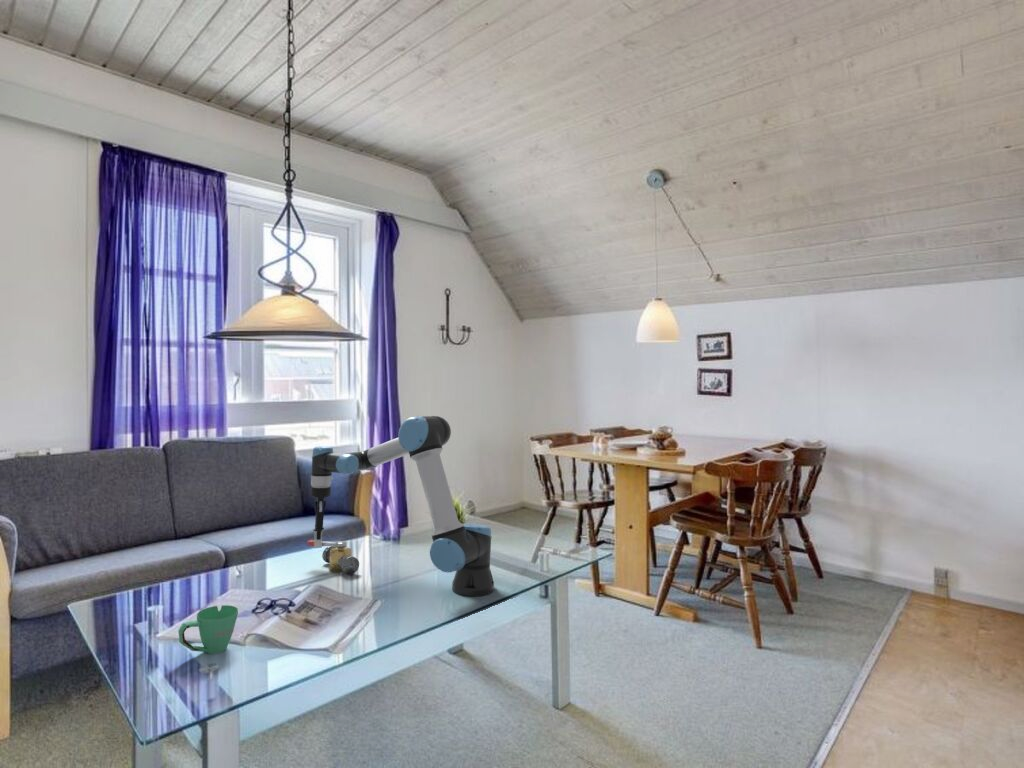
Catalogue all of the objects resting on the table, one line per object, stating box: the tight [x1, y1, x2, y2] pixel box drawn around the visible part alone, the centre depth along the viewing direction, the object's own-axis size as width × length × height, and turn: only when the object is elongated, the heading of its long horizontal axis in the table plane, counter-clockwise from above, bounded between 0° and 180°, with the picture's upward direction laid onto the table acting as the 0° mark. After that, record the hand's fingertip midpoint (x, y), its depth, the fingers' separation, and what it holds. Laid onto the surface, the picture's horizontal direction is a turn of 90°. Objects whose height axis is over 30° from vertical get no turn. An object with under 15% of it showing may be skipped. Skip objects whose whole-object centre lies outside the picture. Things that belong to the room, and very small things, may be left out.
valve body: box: [321, 546, 360, 576], centre depth 225 cm, size 20×8×8 cm, turn 41°
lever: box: [306, 539, 348, 548], centre depth 226 cm, size 15×4×2 cm, turn 86°
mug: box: [178, 604, 239, 655], centre depth 151 cm, size 15×10×10 cm
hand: (317, 547), depth 223 cm, fingers closed
